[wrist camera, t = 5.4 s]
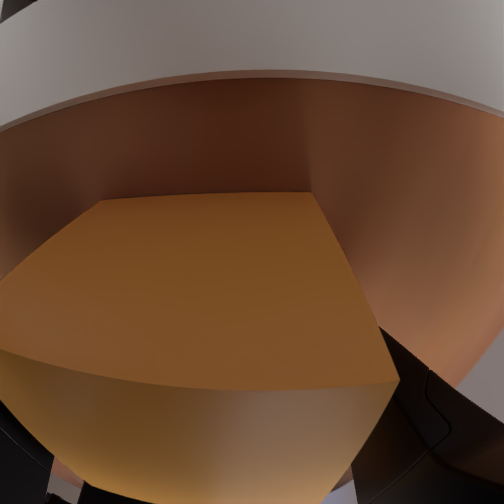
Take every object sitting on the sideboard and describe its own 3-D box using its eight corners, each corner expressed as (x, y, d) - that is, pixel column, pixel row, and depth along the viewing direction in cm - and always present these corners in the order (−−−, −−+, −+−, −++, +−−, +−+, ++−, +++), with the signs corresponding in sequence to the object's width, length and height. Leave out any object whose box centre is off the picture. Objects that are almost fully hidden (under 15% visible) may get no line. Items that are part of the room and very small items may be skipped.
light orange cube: (298, 355, 10) (312, 512, 5) (142, 349, 11) (91, 485, 5) (311, 192, 8) (399, 379, 2) (101, 200, 8) (-48, 329, 3)
